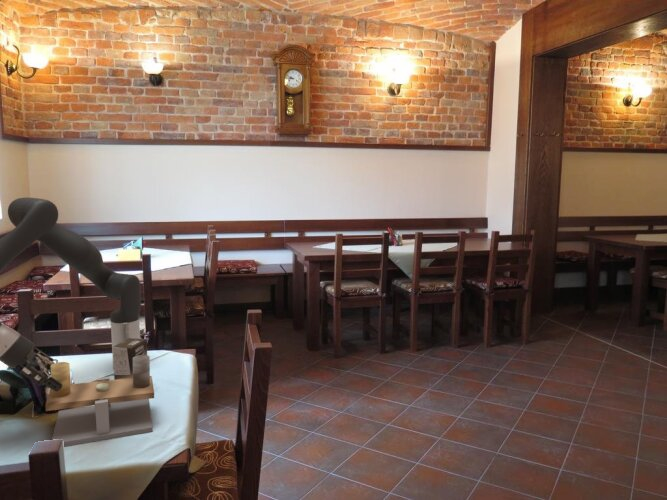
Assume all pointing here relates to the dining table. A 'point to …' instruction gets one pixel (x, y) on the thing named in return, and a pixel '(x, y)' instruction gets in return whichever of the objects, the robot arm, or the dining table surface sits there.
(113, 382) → the plate
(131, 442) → the dining table surface
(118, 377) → the coffee box
